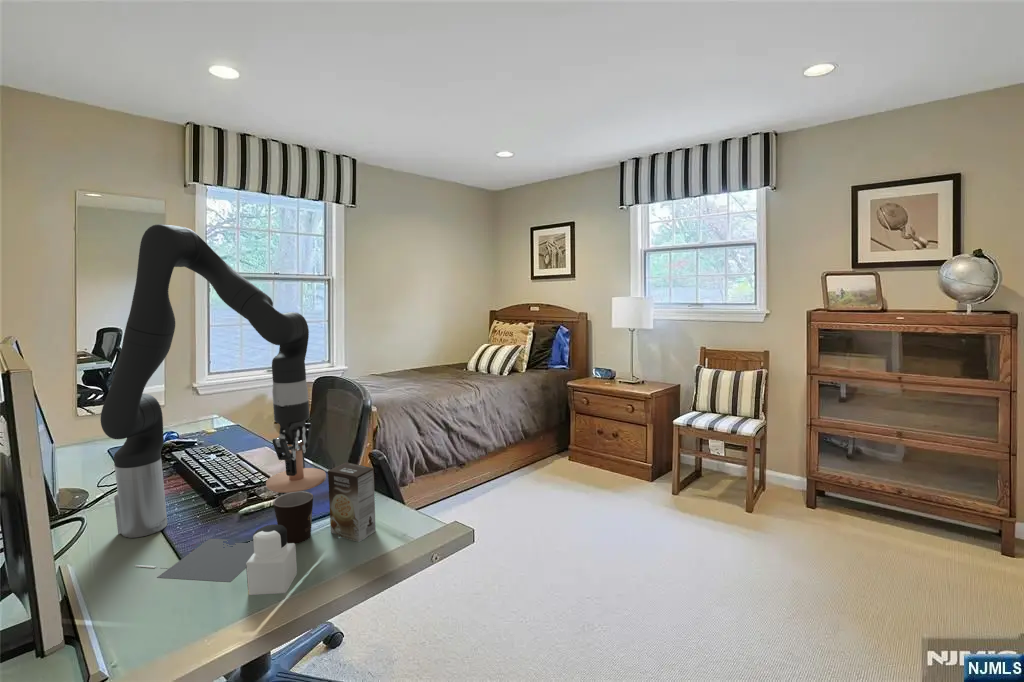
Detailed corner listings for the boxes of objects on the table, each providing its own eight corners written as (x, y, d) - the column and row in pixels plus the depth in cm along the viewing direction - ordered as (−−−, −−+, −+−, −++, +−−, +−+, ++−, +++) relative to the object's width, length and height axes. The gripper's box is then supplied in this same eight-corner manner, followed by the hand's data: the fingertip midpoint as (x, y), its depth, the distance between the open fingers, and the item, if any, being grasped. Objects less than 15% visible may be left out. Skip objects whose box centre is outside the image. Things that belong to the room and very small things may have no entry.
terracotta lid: (254, 491, 118) (251, 460, 117) (285, 470, 131) (283, 441, 130) (309, 493, 117) (307, 461, 116) (335, 471, 130) (333, 443, 129)
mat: (157, 580, 108) (157, 577, 108) (209, 541, 124) (209, 538, 124) (230, 584, 106) (230, 581, 106) (274, 544, 122) (274, 541, 122)
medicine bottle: (262, 576, 109) (258, 521, 108) (297, 574, 110) (294, 519, 108) (247, 597, 102) (243, 538, 101) (286, 595, 103) (282, 537, 101)
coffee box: (329, 535, 126) (325, 470, 124) (348, 523, 132) (344, 461, 130) (359, 543, 122) (356, 476, 120) (377, 530, 128) (374, 467, 126)
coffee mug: (301, 550, 119) (299, 508, 118) (267, 547, 121) (264, 505, 120) (329, 526, 130) (327, 487, 129) (298, 523, 132) (295, 485, 131)
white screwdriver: (132, 568, 113) (132, 563, 113) (213, 574, 110) (213, 569, 110) (129, 570, 112) (128, 566, 112) (210, 577, 110) (210, 572, 109)
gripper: (291, 392, 129) (295, 461, 131) (257, 407, 115) (263, 483, 117) (320, 393, 128) (324, 462, 130) (290, 407, 114) (295, 484, 116)
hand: (295, 471), depth 124 cm, fingers closed on terracotta lid, 3 cm apart
